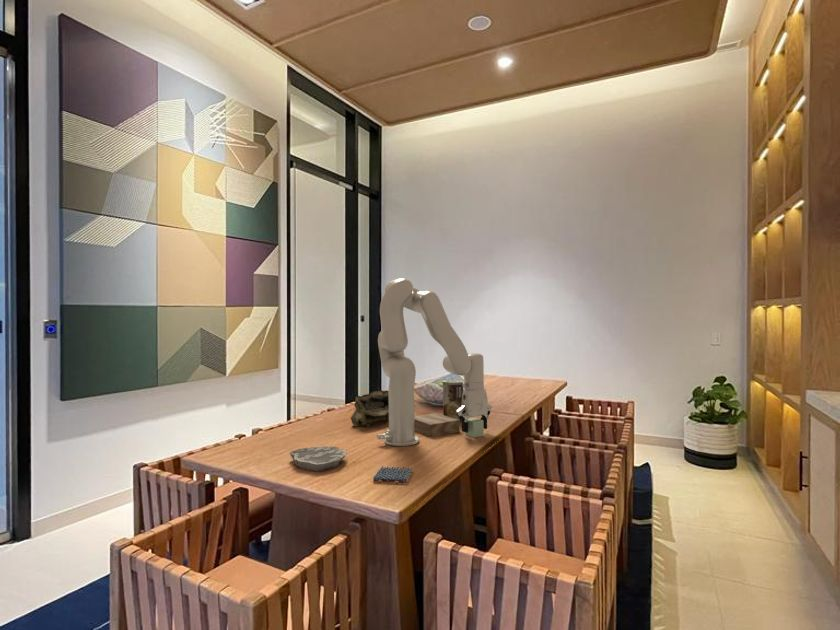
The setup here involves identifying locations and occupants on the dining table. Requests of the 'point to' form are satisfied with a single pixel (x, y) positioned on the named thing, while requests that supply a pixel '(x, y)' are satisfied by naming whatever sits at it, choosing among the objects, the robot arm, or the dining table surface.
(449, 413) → the coffee box
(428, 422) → the block
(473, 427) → the sage block
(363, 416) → the hollow geode rock
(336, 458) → the flat grey stone slab
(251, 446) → the dining table surface
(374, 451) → the dining table surface
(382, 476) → the bristly blue-grey mat
